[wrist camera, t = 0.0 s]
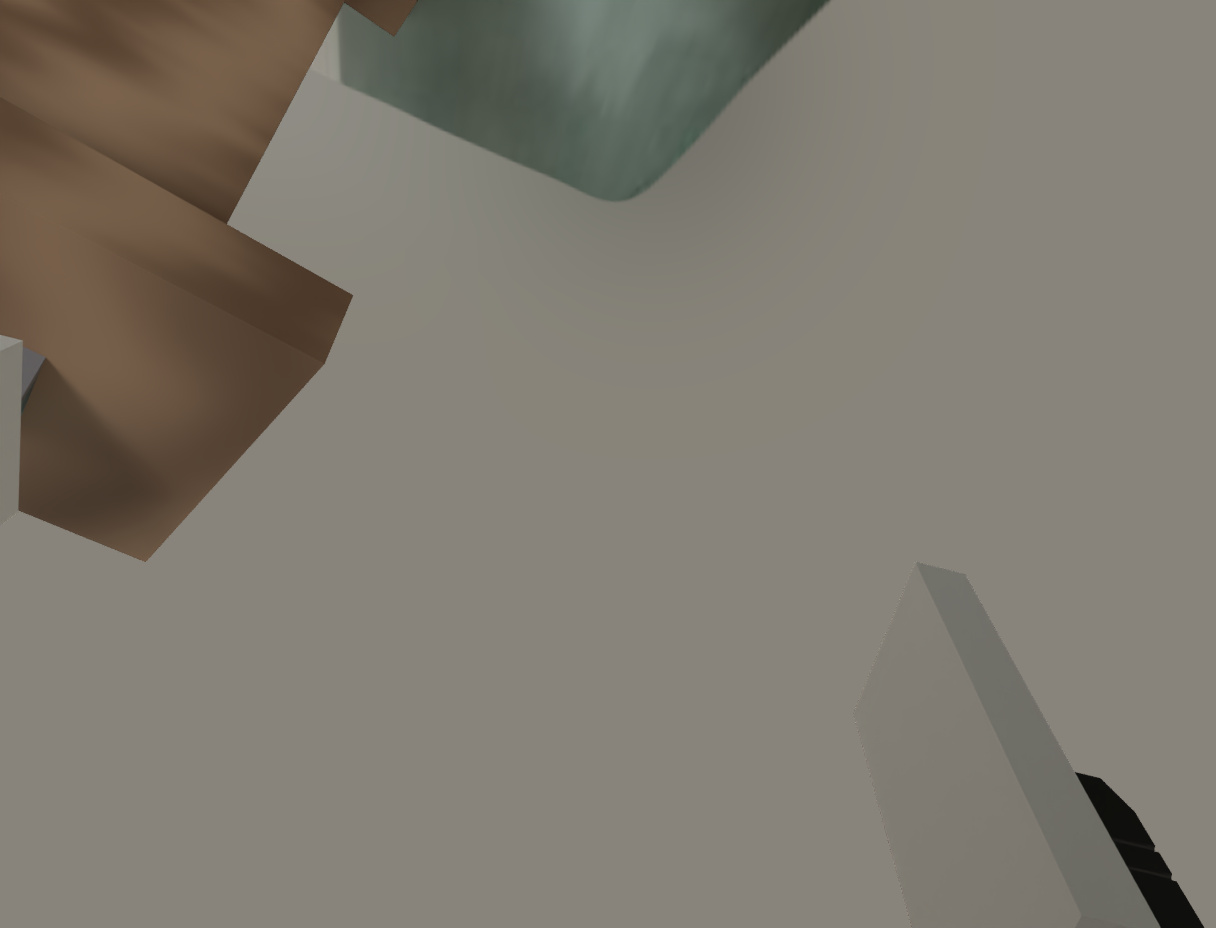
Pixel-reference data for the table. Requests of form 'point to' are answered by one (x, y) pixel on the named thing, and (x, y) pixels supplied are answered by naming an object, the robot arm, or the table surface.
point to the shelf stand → (151, 248)
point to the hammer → (29, 373)
